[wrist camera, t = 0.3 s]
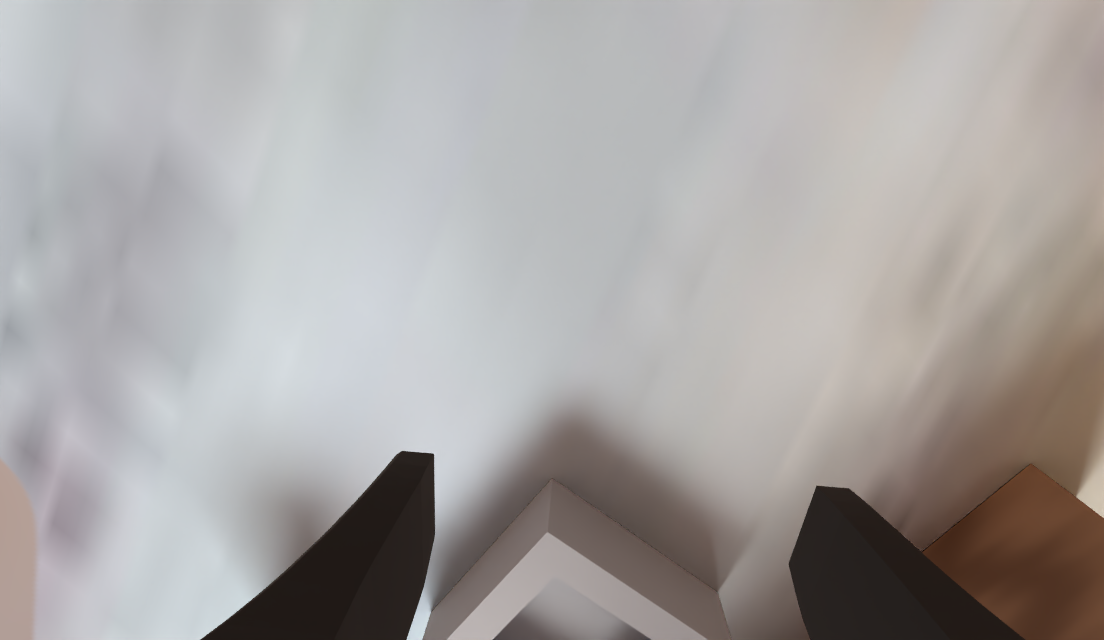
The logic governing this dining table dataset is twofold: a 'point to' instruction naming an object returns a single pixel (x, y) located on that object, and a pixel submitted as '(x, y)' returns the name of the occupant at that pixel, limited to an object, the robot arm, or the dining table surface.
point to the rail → (1031, 559)
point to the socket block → (575, 583)
